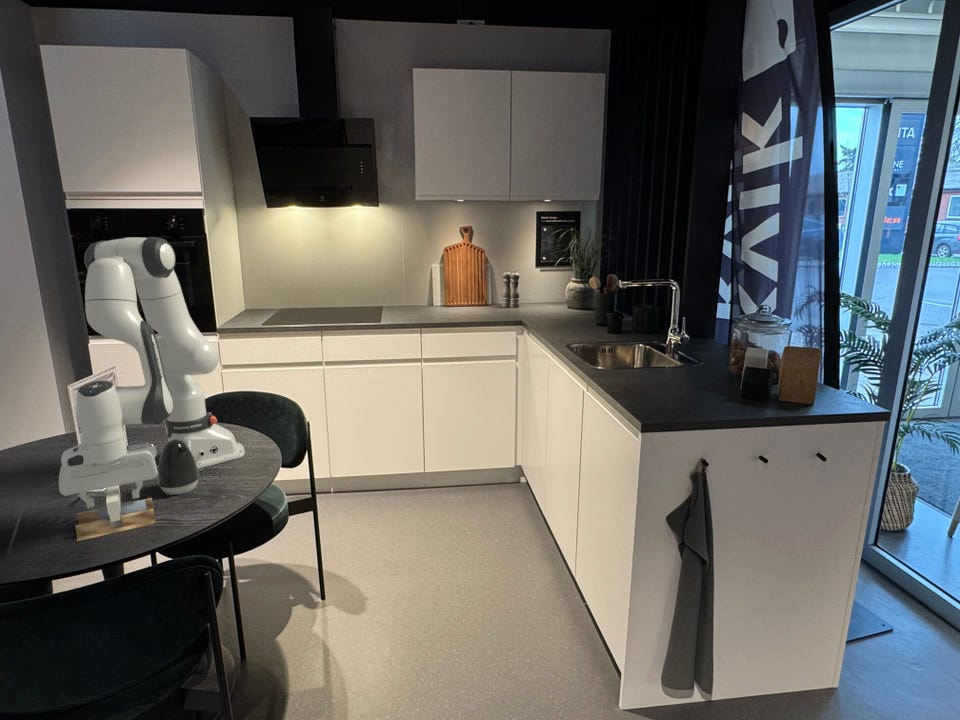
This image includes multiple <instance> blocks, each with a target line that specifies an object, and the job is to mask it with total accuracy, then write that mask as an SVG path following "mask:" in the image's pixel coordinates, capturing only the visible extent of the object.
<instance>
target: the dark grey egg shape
mask: <svg viewBox="0 0 960 720" xmlns="http://www.w3.org/2000/svg"><path fill="white" fill-rule="evenodd" d="M157 471H158V475H157V485H158V486H159V487H160V489H161V491H163V493H165V494H166V495H171V496H173V495H174V496H175V495H181V494H182V495H183V494H185V493H189V492H191V491H193V490H194V489H195V488H196V486H197V485H198V483H199V478H200V472H199V469H198V467H197V464H196V461H195V459H194V457H193V455H192V453H191V451H190V449H189V448H188V446H187V445H186V444H185V443H184V442H183V441H181V440H171V441H169V442H166V443H165V444H164V446H163V448H162V450H161V453H160V457H159V461H158V467H157Z"/></svg>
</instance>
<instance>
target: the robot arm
mask: <svg viewBox="0 0 960 720" xmlns="http://www.w3.org/2000/svg"><path fill="white" fill-rule="evenodd" d="M176 257H177V256H176V252H175V249H174V248H173V246H172V245H171V243H169V242H168V241H167V240H166V239H164V238H161V237H155V236H149V237H139V236H138V237H131V236H130V237H124V238H117V239H110V240H98V241H96V242H92V243H90V245H89V246H88V247H87V249H86V250H85V253H84V258H83V259H84V265H85V267H86V270H87V273H86V274H87V275H86V280H85V286H84V287H85V288H84V290H85V291H84V292H85V293H84V301H85V303H84V306H85V315H86V316H85V317H86V321H87V323H88V325H89V326H90V327H91V328H92V329H93V330H94V331H95V332H97V333H98V334H100V335H101V336H103V337H106V338H109V339H113V340H115V341H120V342H122V343H125V344H126V345H129V346H131V347H132V348H134V349H135V350H136V352H137V354H138V356H139V359H140V365H141V368H142V369H141V370H142V374H143V378H144V381H145V382H144V384H143V385H133V386H130V385H129V386H122V385H121V386H120V385H119V386H115V384H114V383H113V382H112V381H110V380H109V381H108V380H96V381H90V382H87V383H85V384H83V385H81V386H80V387H79V388H78V389H77V391H76V416H77V421H78V427H80V429H81V443H80V444H78V445H75V446H74V447H73V446H72V447H71V448H68V449H66V450H64V452H63V453H62V454H61V459H60V463H61V466H60V470H59V473H58V474H59V475H58V489H59V493H60V494H61V495H62V496H64V497H67V496H71V495H77V494H78V495H79V498H80V499H81V500H82V501H83V502H84V503H86V507H87V509H90V508H91V509H92V508H95V506H96V503H95V498H94V497H92V498H91V497H89V496H88V495H87V493H88V492H91V491H98V490H102V489H107V488H108V487H113V486H118V485H119V486H122V485H128V484H133V483H135V486H136V487H135V489H132V490H131V496H132V499H133V500H135V499H139V498H140V491H141V489H142V487H143V485H144V483H143V482H145V481H148V480H154V479H155V478H156V477H158V467H157V462H156V457H157V447H156V446H155V445H154V444H152V443H149V442H142V443H138V444H137V443H135V444H130V445H129V444H127V439H126V437H127V436H126V432H125V430H124V428H123V426H126V425H156V426H157V425H158V426H159V425H160V424H162V423H163V422H165V423H164V425H165V427H164V428H165V432H166V436H167V441H168V442H169V441H171V440H181V441H183V442H184V443H185V444H186V445H187V446H188V448H189V449H190V451H191V453H192V455H193V457H194V459H195V461H196V464H197V467H198V470H199V469H203V468H205V467H206V468H207V467H210V466H214V465H218V464H221V463H225V462H229V461H233V460H237V459H239V458H243V457H244V455H245V447H244V445H243V444H242V443H240V442H238V441H236V438H235V436H234V434H233V432H232V431H230V429H227V428H226V427H223V426H221V425H219V424H218V423H217V422H218V419H217V417H216V416H215V415H214V414H212V412H210V411H209V412H207V408H206V398H205V392H204V389H203V388H202V386H201V385H199V383H197V381H196V379H194V377H193V376H201V375H208V374H210V373H212V372H213V371H214V370H216V368H217V366H218V364H219V361H220V354H219V351H218V349H217V347H216V346H215V344H213V343H212V342H210V341H209V340H208V339H207V338H206V337H205V336H204V335H203V334H202V333H201V331H200V330H199V328H198V327H197V325H196V323H195V322H194V320H193V319H192V317H191V316H190V315H191V314H190V313H189V310H188V306H187V303H186V301H185V298H184V294H183V290H182V287H181V284H180V281H179V278H178V276H177V274H176V272H175V267H176V263H177V261H176V260H177V258H176ZM137 294H138V298H139V299H138V300H139V301H140V304H141V308H142V311H143V314H144V318H145V320H146V321H145V320H144V319H143V318H142V316H141V314H140V312H139V308H138V300H137ZM155 331H156V333H157V334H159V335H158V336H157V335H155V334H156V333H155ZM168 442H167V443H168Z"/></svg>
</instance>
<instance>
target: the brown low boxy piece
mask: <svg viewBox="0 0 960 720" xmlns="http://www.w3.org/2000/svg"><path fill="white" fill-rule="evenodd" d="M121 499H122V497H120V504H122V500H121ZM144 499H145V502H146V509H147V510H144V511H139V512H135V513H130V514H125V515H121V508H120V512H119V513H120V520H118V521H114V522H111V521H110V515H109V518H107V519H102V520H99V518H98V509H101V508H102V507H100V508H96V509H92V510H86V511H81V512H77V514H76V516H77V520H78V521H77V522H78V524H76V525H75V531H76V538H77V539H76V542H80V541H85V540H90V539H94V538H98V537H102V536H107V535H110V534H111V535H112V534H115V533H119V532H123V531H128V530H132V529H133V530H134V529H136V528H141V527H142V528H143V527H146V526H150V525H154V524H156V518H155V513H154V512H155V511H154V503H153V498H152V497H149V498H143V499H142V500H144ZM135 501H136V500H135ZM135 501H133V502H135ZM137 501H139V500H137ZM130 502H131V501H129V502H128V503H130ZM125 503H126V502H124V503H123V504H125ZM106 507H107V506H106ZM106 507H105V506H104V508H106Z"/></svg>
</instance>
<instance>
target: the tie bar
mask: <svg viewBox="0 0 960 720" xmlns="http://www.w3.org/2000/svg"><path fill="white" fill-rule="evenodd" d="M120 498H121V490H120V485H118V486H113V487H108V488H106V498H105V499H106V500H105V501H106V502H105V503H106V507H107V511H108V515H110V521H111V522H114V521H118V520H120V513H119V512H120Z"/></svg>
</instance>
